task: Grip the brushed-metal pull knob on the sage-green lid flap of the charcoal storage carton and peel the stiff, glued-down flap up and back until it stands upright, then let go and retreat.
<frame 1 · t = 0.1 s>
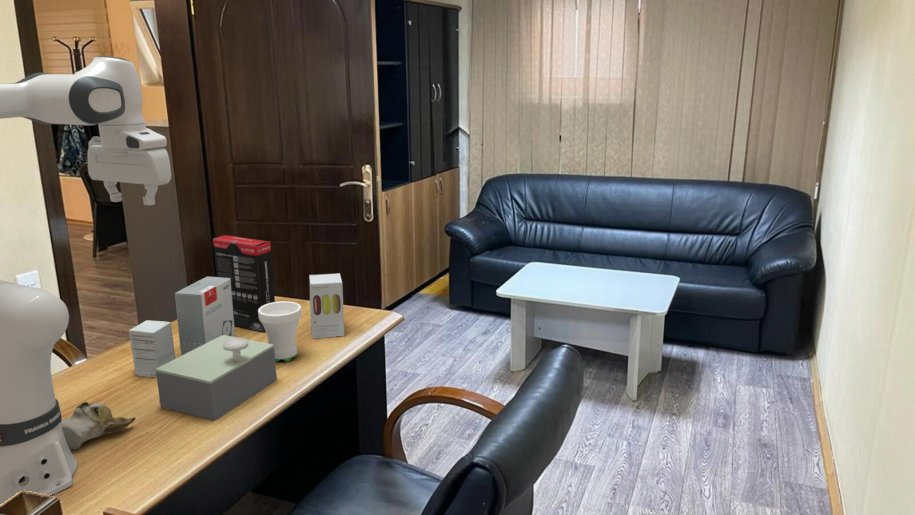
hand: (132, 203, 144), 48 cm above the table, fingers open, 8 cm apart
cup: (283, 357, 183), on the table
graphics card box: (249, 326, 206), on the table
supplement box: (156, 371, 175), on the table
lid flap: (191, 353, 164), point 9 cm above the table, hinge at 0.0°
supplement box 2: (328, 332, 201), on the table
carton: (221, 393, 163), on the table
ceramic sculpture: (92, 438, 144), on the table
hard drive box: (210, 354, 186), on the table
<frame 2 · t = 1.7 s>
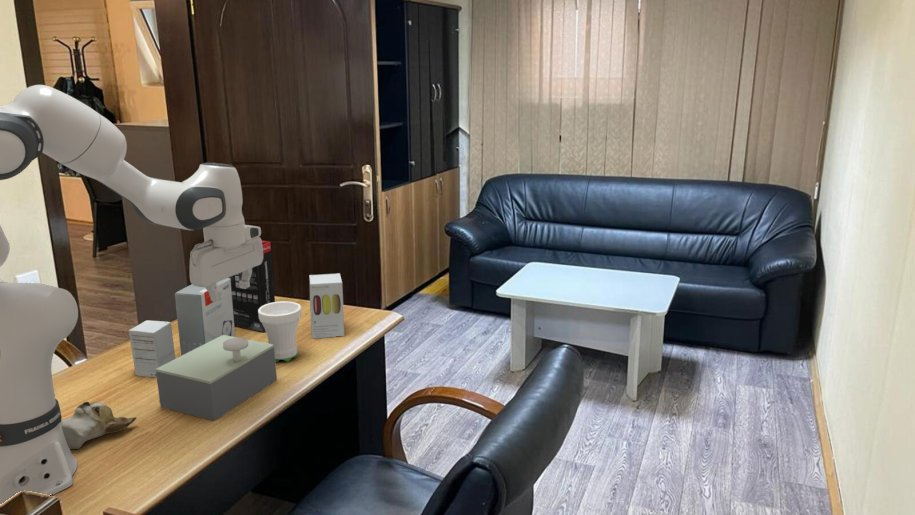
hand: (230, 294, 154), 26 cm above the table, fingers open, 8 cm apart
nothing on the table moved.
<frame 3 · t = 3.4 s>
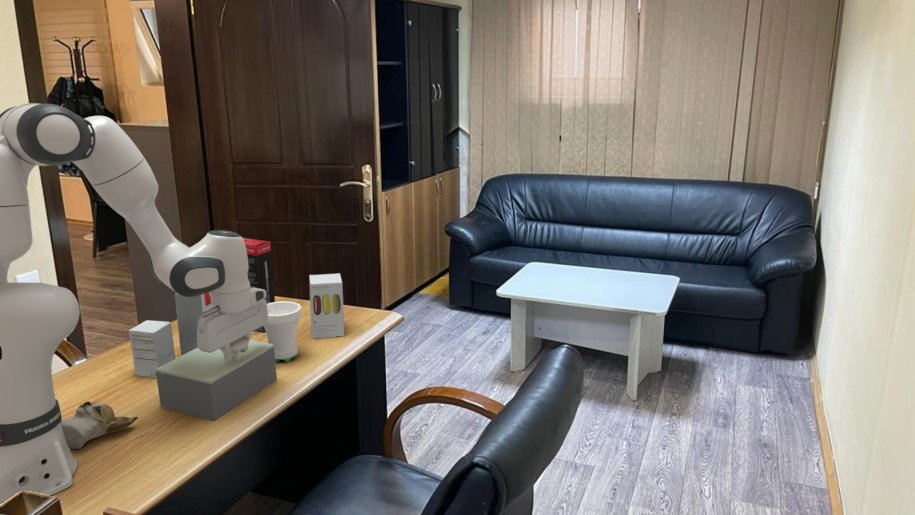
hand: (236, 355, 158), 11 cm above the table, fingers open, 3 cm apart
lid flap: (191, 353, 164), point 9 cm above the table, hinge at 0.0°, touching gripper
everything else where it was.
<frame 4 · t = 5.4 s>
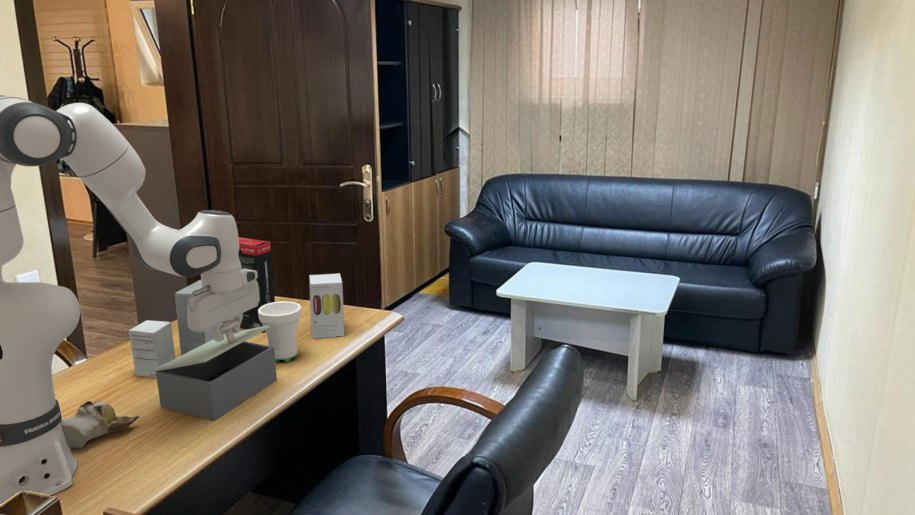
hand: (227, 336, 157), 15 cm above the table, fingers closed on lid flap, 4 cm apart
lid flap: (191, 353, 164), point 9 cm above the table, hinge at 18.4°, touching gripper
everything else where it was.
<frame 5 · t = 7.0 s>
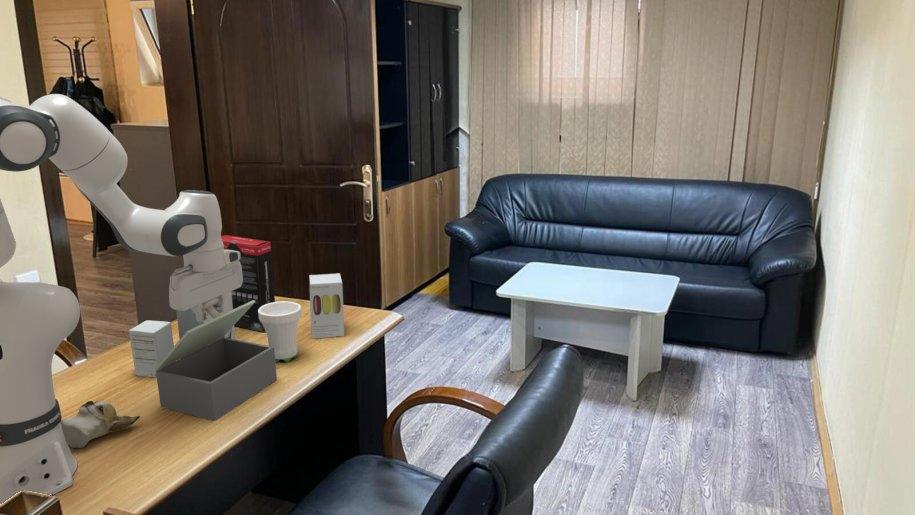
hand: (210, 316, 158), 20 cm above the table, fingers closed on lid flap, 4 cm apart
lid flap: (191, 353, 164), point 9 cm above the table, hinge at 44.5°, touching gripper
everything else where it was.
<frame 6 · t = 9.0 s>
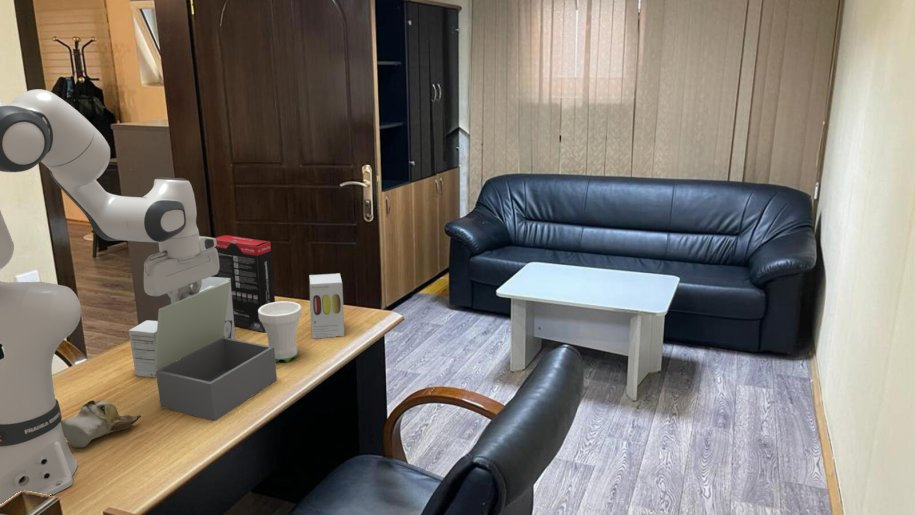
hand: (186, 302, 160), 22 cm above the table, fingers closed on lid flap, 4 cm apart
lid flap: (191, 353, 164), point 9 cm above the table, hinge at 75.5°, touching gripper
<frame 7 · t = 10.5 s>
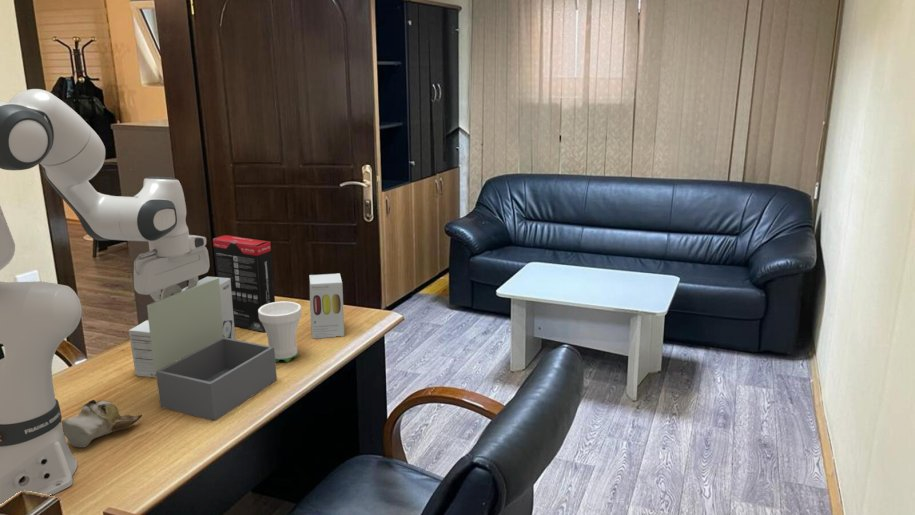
hand: (176, 301, 161), 22 cm above the table, fingers open, 8 cm apart
lid flap: (191, 353, 164), point 9 cm above the table, hinge at 87.8°
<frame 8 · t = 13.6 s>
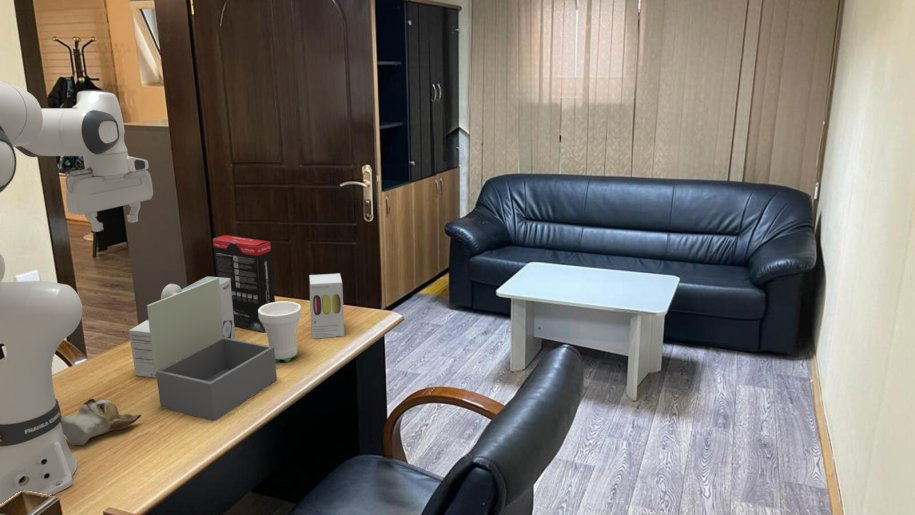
hand: (116, 226, 153), 41 cm above the table, fingers open, 8 cm apart
at the end: lid flap at +88° (first picture: +0°); the gripper is holding nothing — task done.
